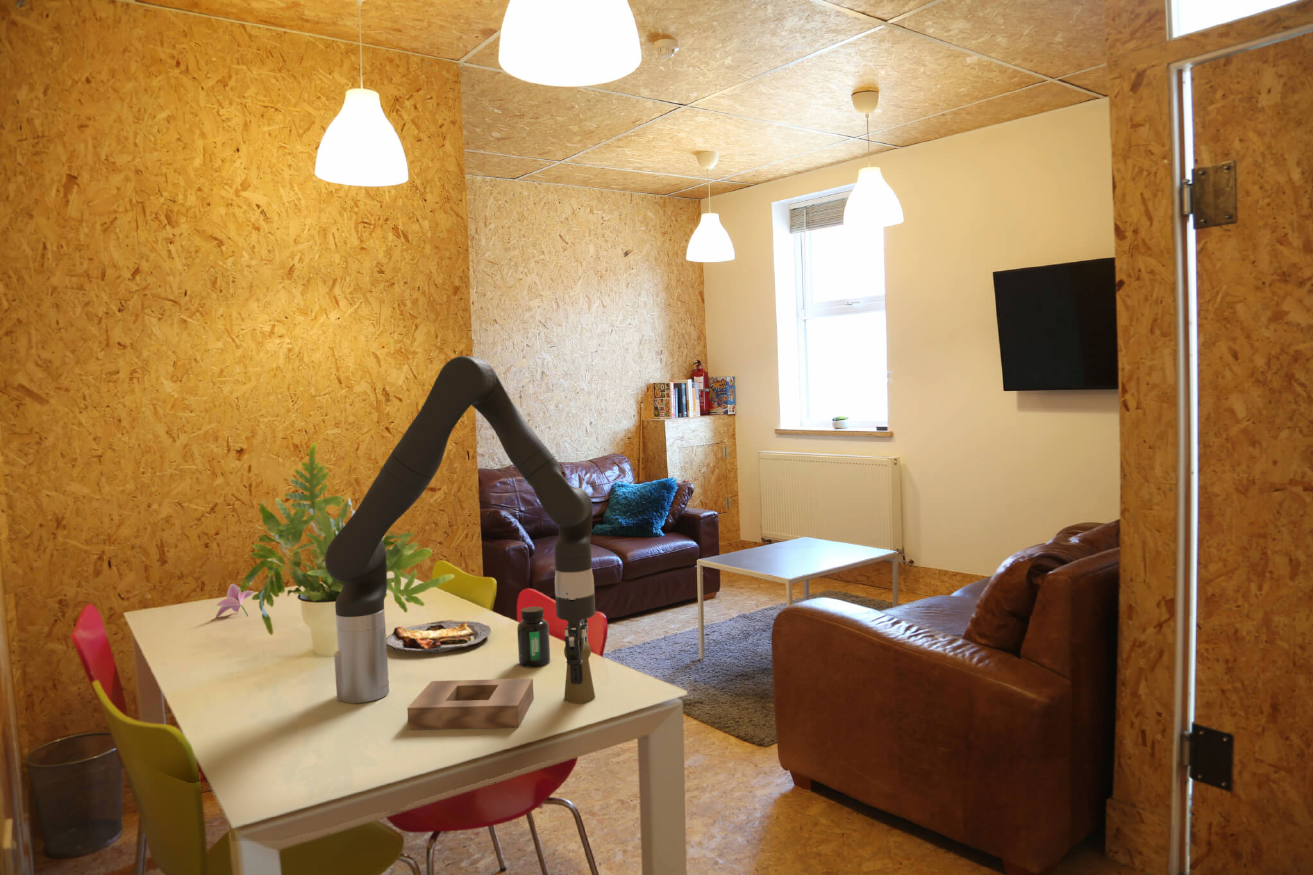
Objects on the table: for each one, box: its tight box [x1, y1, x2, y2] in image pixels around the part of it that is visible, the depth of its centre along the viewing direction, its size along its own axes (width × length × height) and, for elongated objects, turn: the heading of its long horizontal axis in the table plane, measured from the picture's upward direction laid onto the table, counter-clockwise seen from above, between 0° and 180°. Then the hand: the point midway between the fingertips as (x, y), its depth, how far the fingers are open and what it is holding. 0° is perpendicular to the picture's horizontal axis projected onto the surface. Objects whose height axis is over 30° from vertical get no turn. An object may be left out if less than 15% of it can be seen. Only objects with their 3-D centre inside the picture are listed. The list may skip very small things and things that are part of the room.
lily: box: [215, 581, 255, 619], centre depth 241 cm, size 12×12×10 cm
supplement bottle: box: [516, 606, 551, 668], centre depth 188 cm, size 7×7×12 cm
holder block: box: [407, 678, 535, 731], centre depth 159 cm, size 20×14×4 cm
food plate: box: [386, 619, 492, 654], centre depth 207 cm, size 25×23×4 cm
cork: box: [563, 641, 596, 704], centre depth 165 cm, size 6×6×11 cm
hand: (578, 678), depth 165 cm, fingers closed on cork, 4 cm apart
